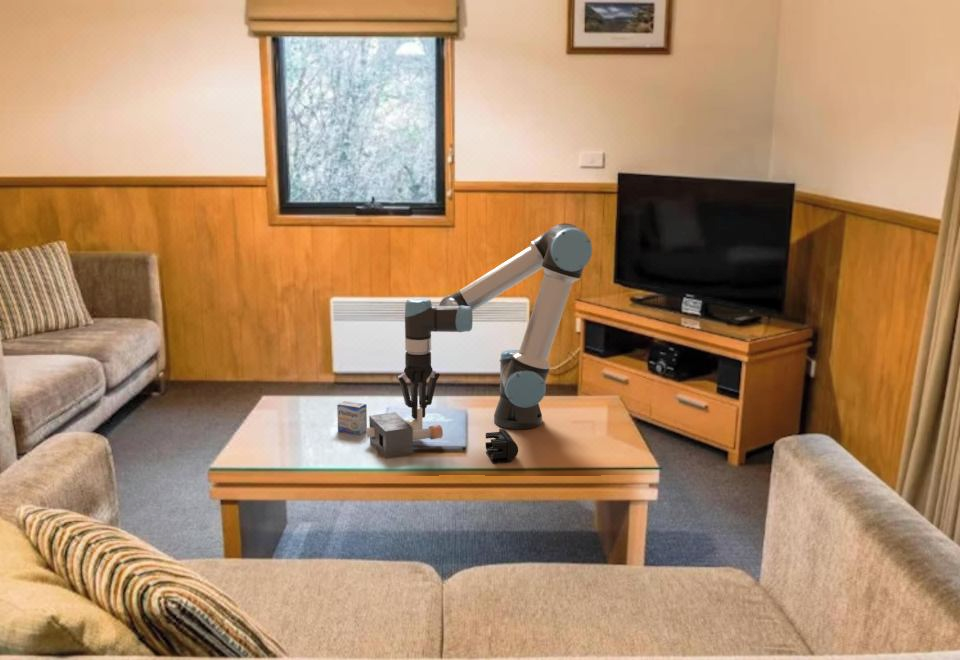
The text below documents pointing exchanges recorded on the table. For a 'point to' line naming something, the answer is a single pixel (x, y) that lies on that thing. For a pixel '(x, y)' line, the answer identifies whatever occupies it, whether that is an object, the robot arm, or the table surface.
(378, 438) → the grey peg holder block
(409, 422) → the knob
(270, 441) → the table surface
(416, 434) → the knob
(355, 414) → the medicine box
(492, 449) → the end cap
